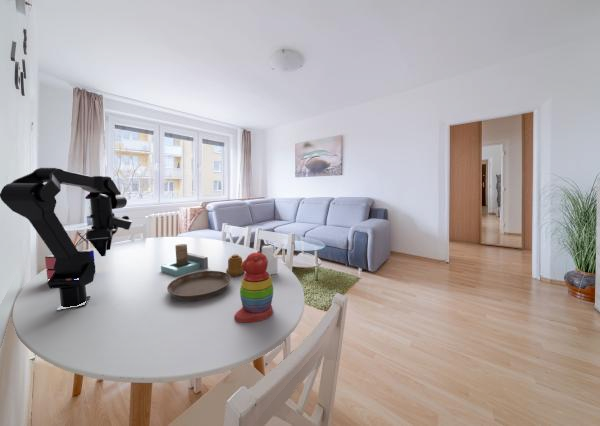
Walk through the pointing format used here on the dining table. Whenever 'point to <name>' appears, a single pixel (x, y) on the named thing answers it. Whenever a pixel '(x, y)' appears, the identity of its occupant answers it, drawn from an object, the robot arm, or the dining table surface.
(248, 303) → the stacking bear
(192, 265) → the socket block
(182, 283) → the plant saucer
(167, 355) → the dining table surface
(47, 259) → the puzzle cube
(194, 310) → the dining table surface
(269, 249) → the medicine bottle
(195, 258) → the charcoal wall
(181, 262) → the walnut dowel
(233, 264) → the ornamental finial
